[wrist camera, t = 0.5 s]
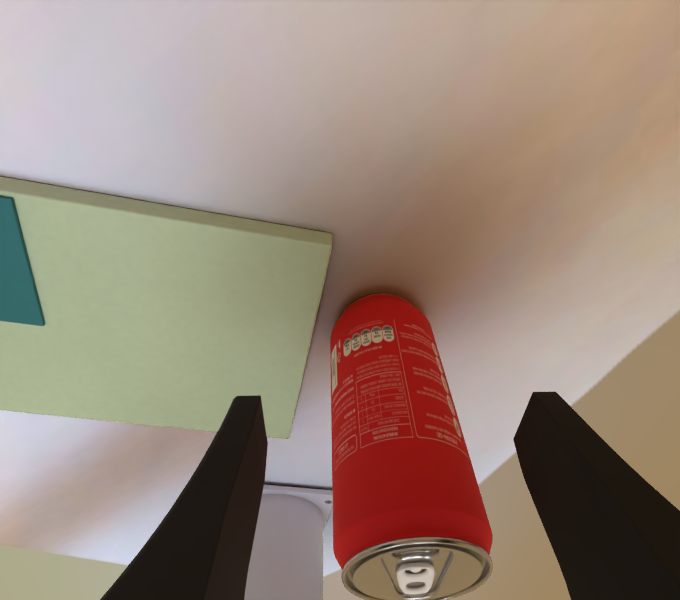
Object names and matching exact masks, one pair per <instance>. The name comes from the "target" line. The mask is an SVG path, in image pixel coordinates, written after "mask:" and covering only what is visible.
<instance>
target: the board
mask: <svg viewBox="0 0 680 600" xmlns="http://www.w3.org/2000/svg"><path fill="white" fill-rule="evenodd" d="M331 251H332V234H331V233H326V232H320V231H314V230H309V229H303V228H297V227H291V226H285V225H279V224H274V223H268V222H262V221H256V220H250V219H245V218H239V217H233V216H227V215H221V214H215V213H210V212H204V211H198V210H192V209H186V208H181V207H175V206H169V205H163V204H157V203H151V202H146V201H140V200H134V199H128V198H122V197H117V196H111V195H105V194H99V193H93V192H87V191H82V190H76V189H70V188H64V187H58V186H53V185H47V184H41V183H35V182H29V181H24V180H18V179H12V178H6V177H0V410H5V411H15V412H25V413H35V414H44V415H54V416H64V417H74V418H84V419H94V420H104V421H113V422H123V423H133V424H143V425H153V426H163V427H173V428H182V429H192V430H202V431H212V432H218V430H219V428H220V426H221V424H222V422H223V420H224V418H225V416H226V414H227V412H228V410H229V408H230V406H231V403H232V401H233V399H234V398H235V397H236V396H258V395H261V401H262V408H263V415H264V422H265V429H266V436H267V437H271V438H281V439H289V437H290V432H291V428H292V424H293V419H294V415H295V410H296V406H297V401H298V397H299V393H300V388H301V384H302V379H303V375H304V371H305V366H306V362H307V357H308V353H309V348H310V344H311V340H312V335H313V331H314V326H315V322H316V318H317V313H318V309H319V304H320V300H321V295H322V291H323V287H324V282H325V278H326V273H327V269H328V265H329V260H330V256H331Z"/></svg>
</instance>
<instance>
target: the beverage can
mask: <svg viewBox="0 0 680 600" xmlns="http://www.w3.org/2000/svg"><path fill="white" fill-rule="evenodd" d="M330 346H331V414H332V482H333V548H334V554H335V557H336V559H337V561H338V563H339V565H340V566H341V568H342V582H343V584H344V586H345V588H346V589H347V590H348V591H349V592H351V593H352V594H354V595H355V596H357V597H360V598H362V599H365V600H448V599H452V598H455V597H458V596H461V595H464V594H466V593H469V592H471V591H473V590H475V589H477V588H478V587H479V586H481V585H482V584H483V583H484V582H485V581H486V580H487V579H488V578H489V577H490V575H491V573H492V569H493V564H492V560H491V558H490V556H489V554H490V549H491V545H492V532H491V528H490V525H489V521H488V518H487V514H486V511H485V508H484V504H483V501H482V497H481V494H480V491H479V487H478V484H477V481H476V477H475V474H474V470H473V467H472V464H471V460H470V457H469V454H468V450H467V447H466V443H465V440H464V437H463V433H462V430H461V427H460V423H459V420H458V416H457V413H456V410H455V406H454V403H453V400H452V396H451V393H450V389H449V386H448V383H447V379H446V376H445V373H444V369H443V366H442V362H441V359H440V356H439V352H438V349H437V345H436V342H435V339H434V335H433V332H432V329H431V326H430V323H429V321H428V320H427V318H426V317H425V316H424V315H423V314H422V313H421V312H420V311H419V310H418V309H416V308H415V306H414V305H413V304H412V303H411V302H409V301H408V300H406V299H405V298H403V297H400V296H398V295H394V294H388V293H376V294H370V295H367V296H364V297H361V298H359V299H357V300H355V301H354V302H352V303H351V304H350V305H348V306H347V307H346V308H345V310H344V311H343V312H342V314H341V316H340V318H339V320H338V322H337V323H336V325H335V326H334V328H333V331H332V334H331V340H330Z"/></svg>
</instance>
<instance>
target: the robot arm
mask: <svg viewBox="0 0 680 600" xmlns="http://www.w3.org/2000/svg"><path fill="white" fill-rule="evenodd" d="M514 443H515V447H516V451H517V454H518V458H519V462H520V466H521V469H522V473H523V476H524V479H525V481H526V484H527V486H528V489H529V491H530V494H531V496H532V499H533V501H534V504H535V506H536V509H537V511H538V514H539V516H540V518H541V521H542V523H543V526H544V528H545V531H546V533H547V536H548V538H549V540H550V543H551V545H552V548H553V550H554V553H555V555H556V557H557V560H558V562H559V565H560V568H561V571H562V573H563V576H564V579H565V581H566V584H567V588H568V591H569V594H570V597H571V600H680V511H679V510H678V509H677V508H676V507H674V506H673V505H672V504H671V503H670V502H669V501H668V500H667V499H666V498H664V497H663V496H662V495H661V494H660V493H659V492H658V491H657V490H655V489H654V488H653V487H652V486H651V485H650V484H648V482H646V481H645V480H644V479H643V478H642V477H641V476H640V475H639V474H638V473H637V472H636V471H635V470H634V469H632V468H631V467H630V466H629V465H628V464H627V463H626V462H625V461H624V460H623V459H622V458H621V457H620V456H619V455H618V454H617V453H616V452H615V451H614V450H613V449H612V448H611V447H610V446H609V445H608V444H607V443H606V442H605V441H604V440H603V439H602V438H601V437H600V436H599V435H598V434H597V433H596V432H595V431H594V430H593V429H592V428H591V427H590V426H589V425H588V424H587V423H586V422H585V421H584V420H583V419H582V418H581V417H580V416H579V415H578V414H577V413H576V412H575V411H574V410H573V409H572V408H571V407H570V406H569V405H568V404H567V403H566V402H565V401H564V400H563V399H562V398H561V397H560V396H559V395H558V394H557V393H556V392H533V393H532V396H531V398H530V401H529V403H528V405H527V408H526V410H525V413H524V415H523V418H522V420H521V422H520V425H519V427H518V430H517V432H516V434H515V437H514ZM266 456H267V436H266V429H265V422H264V415H263V408H262V401H261V395H258V396H236V397H235V398H234V399H233V401H232V403H231V406H230V408H229V410H228V412H227V414H226V416H225V418H224V420H223V422H222V424H221V426H220V428H219V430H218V432H217V434H216V436H215V438H214V439H213V441H212V443H211V445H210V447H209V448H208V450H207V452H206V454H205V455H204V457H203V459H202V460H201V462H200V464H199V466H198V467H197V469H196V471H195V472H194V474H193V476H192V477H191V479H190V480H189V482H188V483H187V485H186V486H185V488H184V490H183V491H182V493H181V494H180V496H179V497H178V499H177V500H176V502H175V503H174V505H173V506H172V508H171V509H170V511H169V512H168V514H167V515H166V516H165V518H164V519H163V521H162V522H161V524H160V525H159V526H158V528H157V529H156V530H155V532H154V533H153V534H152V536H151V537H150V538H149V540H148V541H147V542H146V544H145V545H144V546H143V548H142V549H141V550H140V552H139V553H138V554H137V556H136V557H135V558H134V559H133V560H132V562H131V563H130V564H129V565H128V567H127V568H126V569H125V571H124V572H123V573H122V574H121V576H120V577H119V578H118V579H117V580H116V582H115V583H114V584H113V585H112V587H111V588H110V589H109V590H108V591H107V592H106V594H105V595H104V596H103V597H102V598H101V599H100V600H323V531H324V529H325V526H326V523H327V521H328V518H329V516H330V513H331V510H332V508H333V491H331V490H321V489H309V488H298V487H286V486H274V485H264V480H265V469H266Z"/></svg>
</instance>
